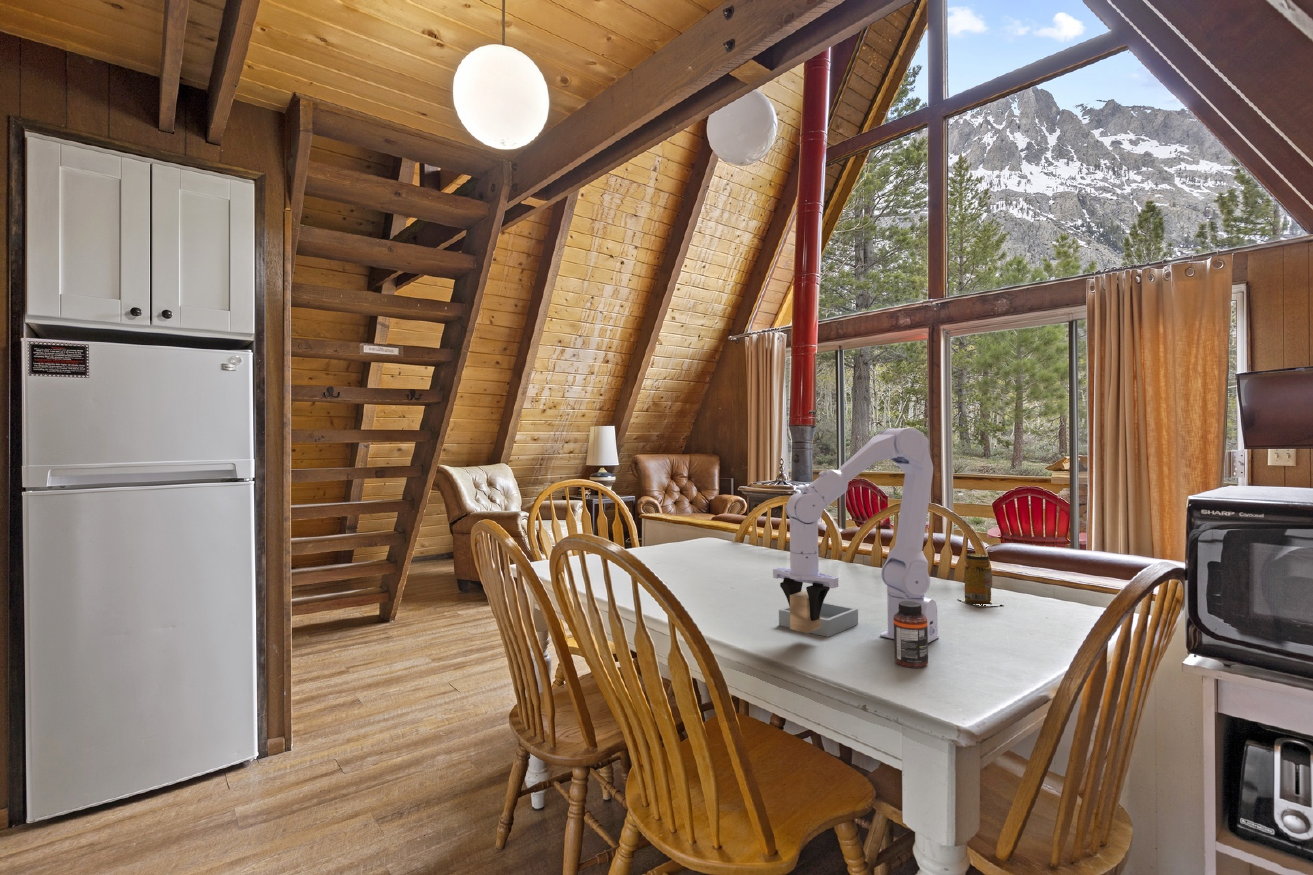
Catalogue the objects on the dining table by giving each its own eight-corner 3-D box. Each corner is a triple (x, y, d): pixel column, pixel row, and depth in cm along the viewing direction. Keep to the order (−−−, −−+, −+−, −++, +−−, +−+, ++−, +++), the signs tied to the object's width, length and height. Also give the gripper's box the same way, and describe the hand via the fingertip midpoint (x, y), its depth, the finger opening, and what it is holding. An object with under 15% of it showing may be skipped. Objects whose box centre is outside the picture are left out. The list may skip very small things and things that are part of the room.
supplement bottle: (900, 655, 127) (899, 597, 127) (932, 662, 123) (931, 602, 123) (889, 664, 123) (888, 603, 122) (922, 671, 119) (921, 608, 119)
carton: (820, 627, 136) (819, 593, 136) (807, 632, 133) (806, 598, 133) (803, 623, 139) (803, 590, 139) (790, 629, 136) (789, 595, 136)
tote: (858, 624, 148) (857, 608, 148) (828, 636, 140) (828, 620, 140) (809, 614, 157) (809, 599, 157) (778, 625, 149) (778, 609, 149)
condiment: (980, 598, 171) (979, 551, 170) (1004, 606, 162) (1004, 557, 162) (955, 600, 169) (955, 553, 169) (979, 608, 161) (978, 559, 161)
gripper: (763, 550, 138) (764, 614, 138) (824, 558, 128) (825, 628, 128) (783, 545, 143) (784, 608, 143) (843, 553, 133) (844, 620, 133)
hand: (805, 617), depth 136 cm, fingers closed on carton, 4 cm apart
